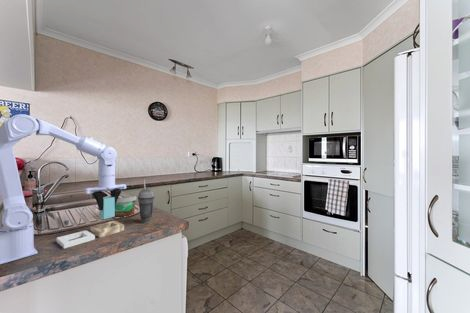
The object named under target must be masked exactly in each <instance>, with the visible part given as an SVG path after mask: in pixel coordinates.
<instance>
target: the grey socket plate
mask: <svg viewBox="0 0 470 313" xmlns="http://www.w3.org/2000/svg"><path fill="white" fill-rule="evenodd" d="M94 240H96V236H95V235H94V234H92V233H91V231H89V230H87V229H86V230H85V229H84V230H80V231H78V232H74V233H70V234H65V235H61V236H57V237H56V243H57V244H58V245H59V246H61V248H62V249H67V248H71V247H73V246H77V245H81V244H84V243H87V242H91V241H94Z"/></svg>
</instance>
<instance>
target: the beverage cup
mask: <svg viewBox="0 0 470 313" xmlns="http://www.w3.org/2000/svg"><path fill="white" fill-rule="evenodd" d="M154 199H155V195H154V191H152V189H150V188H147V187H146V180H145V179H143V189H141V190H140V191H139V193H138V195H137V201H138V206H139V217H140V218H139V219H140V223H141V224H148V223H151V222H152V221H153V220H152V218H153V207H154Z"/></svg>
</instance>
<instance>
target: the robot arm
mask: <svg viewBox="0 0 470 313" xmlns="http://www.w3.org/2000/svg"><path fill="white" fill-rule="evenodd" d="M33 134H35V136H50V137H53V138H56V139H58V140H61V141H63V142H66V143H69V144H71V145H74V147H75V148H76V150H77V151H79V152H82V153H84V154H88V155H89V156H93V157H96V158H97V159H98V186H95V187H88V188H87V187H86V188H84V192H85V194H86V195H89V194H92V196H93V198H94V199H95V201H96V203H97V206H98V210H99V211H100V210H103V197H105V194H104V193H103V192H109V191H110V192H109V193H110V196H112V197H115V206H116V202H117V199H118V198H120V195H121V194H122V190H125V189H127V184H125V183H121V184H120V183H119V184H116V159H117V157H118V153H117V150H116V149H115V148H114V147H112V146H106V143H103V142H99V141H97V140H94V137H92V136H88V137H87V136H81V137H79V136H77V135H75V134H73V133H71V132H69V131H67V130H64V129H62V128H60V127H58V126H56V125H54V124H52V123H49V122H47V121H46V120H45V121H44V120H42V119H40V118H35V117H33V116H32V115H28V114H24V113H20V114H15V115H13V116H11V117H9V118H7V119H5V120H4V121H3V122H2V123H1V125H0V196H1V200H2V205H3V209H2V210H3V211H2V212H1V217H0V218H1V224H2V226H0V265H3V264H6V263H9V262H13V261H17V260H20V259H23V258H27V257H31V256H33V255H37V254H38V253H39V252H38V251H37V249H36V248H35V246H34V245H35V244H34V243H35V242H34V240H35V239H34V238H35V237H34V235H35V234H34V232H35V231H34V229H35V228H34V222H33V218H34V215H33V212H32V211H31V209H30V208H29V207H28V205H27V204H26V200H25V199H26V198H25V195H24V192H23V188H22V184H21V178H20V173H19V170H18V164H17V160H16V155H15V151H14V146H15V145H16V144H17V143H19V142H20V141H21V140H23V139H25V138H27V137H29V136H31V135H33Z"/></svg>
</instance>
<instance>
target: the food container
mask: <svg viewBox="0 0 470 313" xmlns="http://www.w3.org/2000/svg"><path fill="white" fill-rule="evenodd" d="M136 200H137V201H138V196H137V195H134V196H130V197H126V196H124V197H123V196H122V197H118V199H117V202H116V206H115V217H124V216H129V215H132V214H134V215H135V208H136ZM132 216H133V215H132ZM115 217H114V218H115Z"/></svg>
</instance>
